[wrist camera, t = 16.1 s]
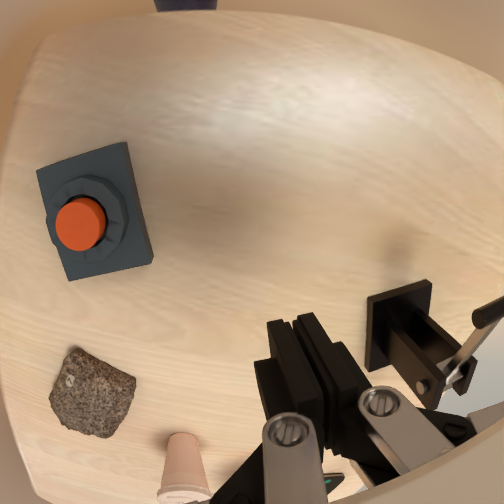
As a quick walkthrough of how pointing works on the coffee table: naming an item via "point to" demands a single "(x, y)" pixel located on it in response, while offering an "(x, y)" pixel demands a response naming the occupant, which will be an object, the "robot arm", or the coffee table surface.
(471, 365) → the bracket
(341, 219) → the coffee table surface
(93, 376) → the stone
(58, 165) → the button block
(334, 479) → the smartphone
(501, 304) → the tap lever
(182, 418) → the coffee table surface
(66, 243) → the button
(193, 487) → the smoothie
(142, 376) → the coffee table surface
